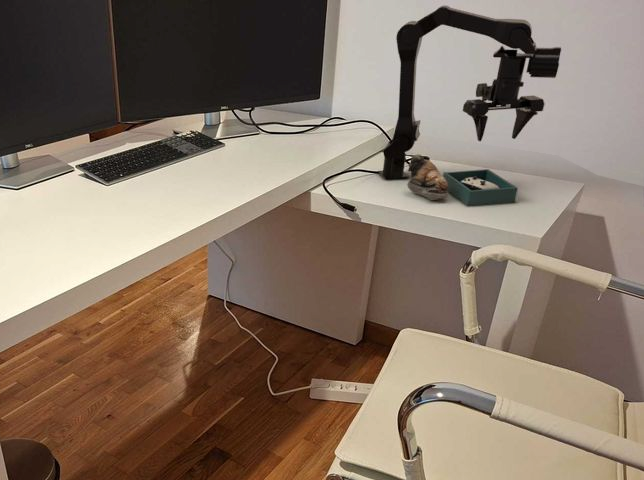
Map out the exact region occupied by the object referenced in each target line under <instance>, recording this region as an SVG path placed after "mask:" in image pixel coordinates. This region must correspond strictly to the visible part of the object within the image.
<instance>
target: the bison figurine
mask: <svg viewBox="0 0 644 480" xmlns="http://www.w3.org/2000/svg"><path fill="white" fill-rule="evenodd" d="M410 157H411V160H410V162H409V164H408V170H407V171H408V172H410V176H411V178H410V180H408V182H407V189H409V190H410V191H411V192H413V193H414V194H416V195H419V196H421V197H424V198H426V199H427V200H430V201H437V200H442V199H446V198H447V197H448V196H449V192H448V191H447V189H448V183H447V181H446V180H445V178H444V177H443V174H441V172H440V171H439V169H438V168H437V166H436V165H435V164H434V163H433V162H432V161H430V160H429V159H428V160H427V159H425V157H424V156H423V155H421V154H412V153H411V154H410Z"/></svg>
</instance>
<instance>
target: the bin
mask: <svg viewBox="0 0 644 480" xmlns="http://www.w3.org/2000/svg"><path fill="white" fill-rule="evenodd" d="M442 176H443V177H444V178H445V180H446V181H447V183H448V189H447V190H446V192H448V193H450V194H451V195H452V196H453V197H455V198H456V199H458V200H459V201H460V202H462V203H463V204H464V205H465V206H467V207H472V206H483V205H485V206H486V205H496V204H512V203H515V202H516V198H517V193H518V189H519V187H517V186H516V185H515V184H513V183H512V182H510V181H508V180H506V179H505V178H503V177H501V176H500V175H498V174H497V173H495V172H493V171H492V170H490V169H488V168H485V169H484V168H483V169H472V170H471V169H470V170H459V171H448V172H447V171H446V172H445V171H444V172H443V174H442ZM473 176H477V178H478V179H481V180H484V181H488V182H490V183H493V184H495V185H497V186H498V187H499V188H498V189H485V190H472V191H471V190H470V189H469V188H467V187H466V186H465V185H463V184H462V183H461V181H462V180H464V179H466V178H470V177H473Z"/></svg>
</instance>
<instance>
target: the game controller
mask: <svg viewBox="0 0 644 480" xmlns="http://www.w3.org/2000/svg"><path fill="white" fill-rule="evenodd" d="M461 183H462V184H463V185H465V186H466V187H467V188H469V189H470V190H471V191H472V190H485V189H498V188H499V187H498V186H497V185H495V184H493V183H490V182H488V181H484V180H481V179H478V178H477V176H473V177H470V178H466V179H464V180H462V181H461Z"/></svg>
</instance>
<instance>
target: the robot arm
mask: <svg viewBox="0 0 644 480" xmlns="http://www.w3.org/2000/svg"><path fill="white" fill-rule="evenodd" d="M440 26H446V27H450V28H453V29H454V28H455V29H458V30H463V31H467V32H470V33H474V34H478V35H482V36H486V37H489V38H490V39H493V40H495V41H496V42H498V43H499V44H502V45H501V46H500V47H499V48H498V49H497V50H496V51H494V52H493V54H492V57H493V58H500V59H499V65H498V70H497V75H496V76H497V77H496V78H494V79H493V81H492V82H491V83H492V84H491V85H488V83H487V82H485V83H484V82H482V83H481V82H480V83H477V84H476V89H475V97H476V98H478V99H467V100H466V101H465V102H464V103H463V106H462V112H464V113H466V114H467V115H468V116H470V117H471V118H472V120H473V123H474V127H475V132H476V133H475V134H476V137H477V141H478V142H482V140H483V137H484V134H485V129H486V127H487V123H488V119H489V116H488V115H487V114H488V113H489V111H498V110H499V111H500V110H501V111H502V110H513V109H515V115H516V116H515V121H514V124H513V129H512V133H511V139H513V140H516V138H517V137H518V136H519V134H520V133H521V132H522V130H523V129H524V128H525V126H527V124H528V123H529V122H530V121H531V120H532V119H533V117H534V116H537V115H538V112H544V109H545V105H546V104H545V100H544V99H543V98H542V97H539V96H536V95H521V96H519V93H520V89H521V88H523V87H524V84H525V82H524V81H522V80H523V74H524V70H525V65H526V62H527V59H528V63H527V67H526V71H525V72H526V73H528V75H530V76H529V78H541V79H543V78H544V79H545V78H546V79H556V77H557V75H558V70H559V67H560V57H561V52H562V47H561V46H555V47H537V43H536V42H535V41H534V39H533V37H532V34H533V33H532V32H533V27H532V25H531V23H530V22H529V21H528V20H526V19H519V18H493V17H490V16H485V15H481V14H479V13H474V12H469V11H465V10H461V9H457V8H453V7H450V5H445V4H444V5H441V6H439V7H437V9H436V10H434V11H432V12H431V13H428V14H427V15H426V16H424V17H422V18H420V19H419V20H417V21H416V20H410V21H407V22H405V24H403V25H402V26H401V27H400V28H399V29H398V30H397V32H396V36H395V39H396V47H397V54H398V57H399V62H400V71H399V72H400V73H399V93H398V114H397V116H398V117H397V121H396V125H395V128H394V132H393V137H392V138H391V140H389V141H388V143H386V145H385V146H384V148H383V150H382V152H383V156H384V158H383V166H382V170H378V172H377V173H378V175H380V176H381V177H382V178H383V179H384V180H397V179H408V177H409V176H408V175H407V174H406V173H405V165H406V157H407V152H409V151H410V150H411V149H412V148H413V147H414V145H415V143H416V142H417V141H418V140H419V138H420V136H421V133H420V125H421V120H420V119H418V120H416V118H415V100H416V99H415V98H416V97H415V96H416V83H417V82H416V80H417V63H418V56H419V53H420V49H421V46H422V41H423V37H424V36H426V35H427V34H429V33H430V32H433V31H434V30H436V29H437V28H439V27H440ZM505 46H506V47H508V48H509V49H508V48H505ZM518 50H520V51H521V52H518ZM518 97H519V98H518ZM480 98H481V99H480ZM487 101H488V102H487Z"/></svg>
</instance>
